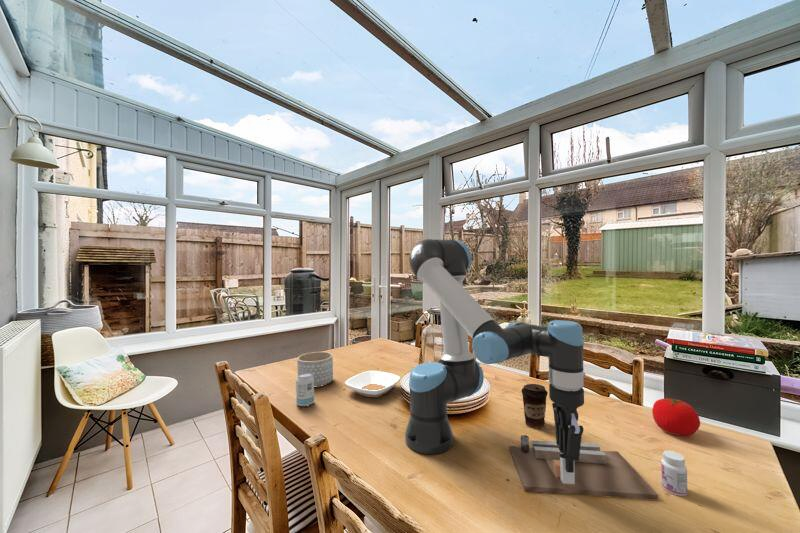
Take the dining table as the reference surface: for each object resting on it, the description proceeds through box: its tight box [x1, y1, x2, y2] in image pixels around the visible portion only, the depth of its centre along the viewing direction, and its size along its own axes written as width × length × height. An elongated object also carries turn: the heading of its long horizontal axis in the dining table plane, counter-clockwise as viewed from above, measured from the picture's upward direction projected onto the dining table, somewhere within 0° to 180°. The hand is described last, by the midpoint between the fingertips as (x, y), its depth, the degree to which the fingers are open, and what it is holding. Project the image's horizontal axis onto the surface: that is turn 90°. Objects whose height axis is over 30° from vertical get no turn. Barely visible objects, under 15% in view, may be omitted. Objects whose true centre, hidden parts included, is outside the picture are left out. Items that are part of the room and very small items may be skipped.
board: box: [508, 445, 660, 501], centre depth 83 cm, size 30×17×1 cm, turn 83°
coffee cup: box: [520, 383, 549, 429], centre depth 108 cm, size 9×8×13 cm
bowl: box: [344, 370, 402, 398], centre depth 140 cm, size 22×22×5 cm
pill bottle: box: [660, 450, 689, 497], centre depth 76 cm, size 5×5×8 cm
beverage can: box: [295, 373, 315, 407], centre depth 128 cm, size 7×7×12 cm
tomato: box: [651, 397, 701, 437], centre depth 102 cm, size 11×12×10 cm
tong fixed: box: [520, 434, 601, 453], centre depth 90 cm, size 21×2×4 cm, turn 83°
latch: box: [553, 460, 561, 477], centre depth 81 cm, size 4×2×3 cm, turn 83°
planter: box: [296, 351, 334, 386], centre depth 151 cm, size 16×16×13 cm
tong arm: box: [534, 446, 607, 464], centre depth 87 cm, size 18×2×2 cm, turn 80°
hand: (567, 481), depth 77 cm, fingers closed
